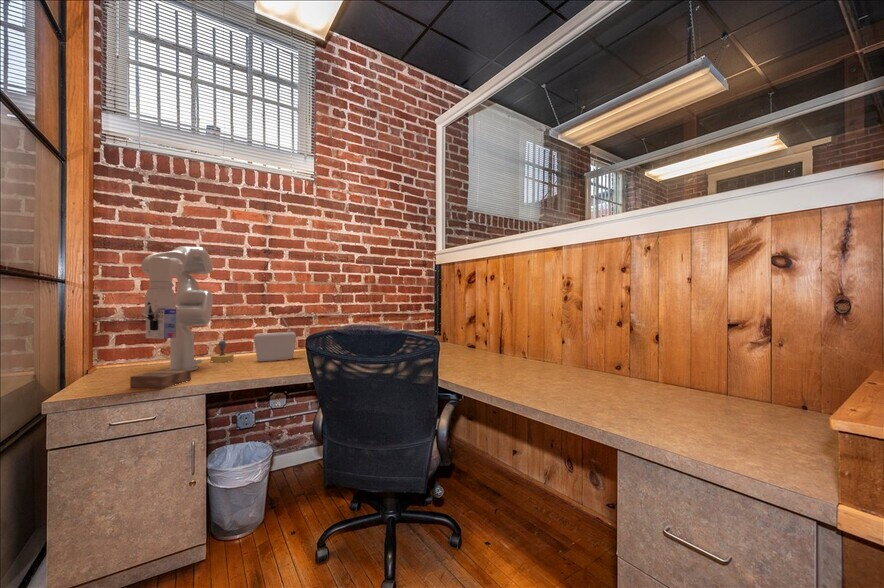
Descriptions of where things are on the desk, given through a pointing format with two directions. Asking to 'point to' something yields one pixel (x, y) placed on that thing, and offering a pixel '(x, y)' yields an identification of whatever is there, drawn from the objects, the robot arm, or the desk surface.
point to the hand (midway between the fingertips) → (161, 329)
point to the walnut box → (160, 379)
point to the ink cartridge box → (163, 325)
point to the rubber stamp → (222, 354)
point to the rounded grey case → (275, 345)
